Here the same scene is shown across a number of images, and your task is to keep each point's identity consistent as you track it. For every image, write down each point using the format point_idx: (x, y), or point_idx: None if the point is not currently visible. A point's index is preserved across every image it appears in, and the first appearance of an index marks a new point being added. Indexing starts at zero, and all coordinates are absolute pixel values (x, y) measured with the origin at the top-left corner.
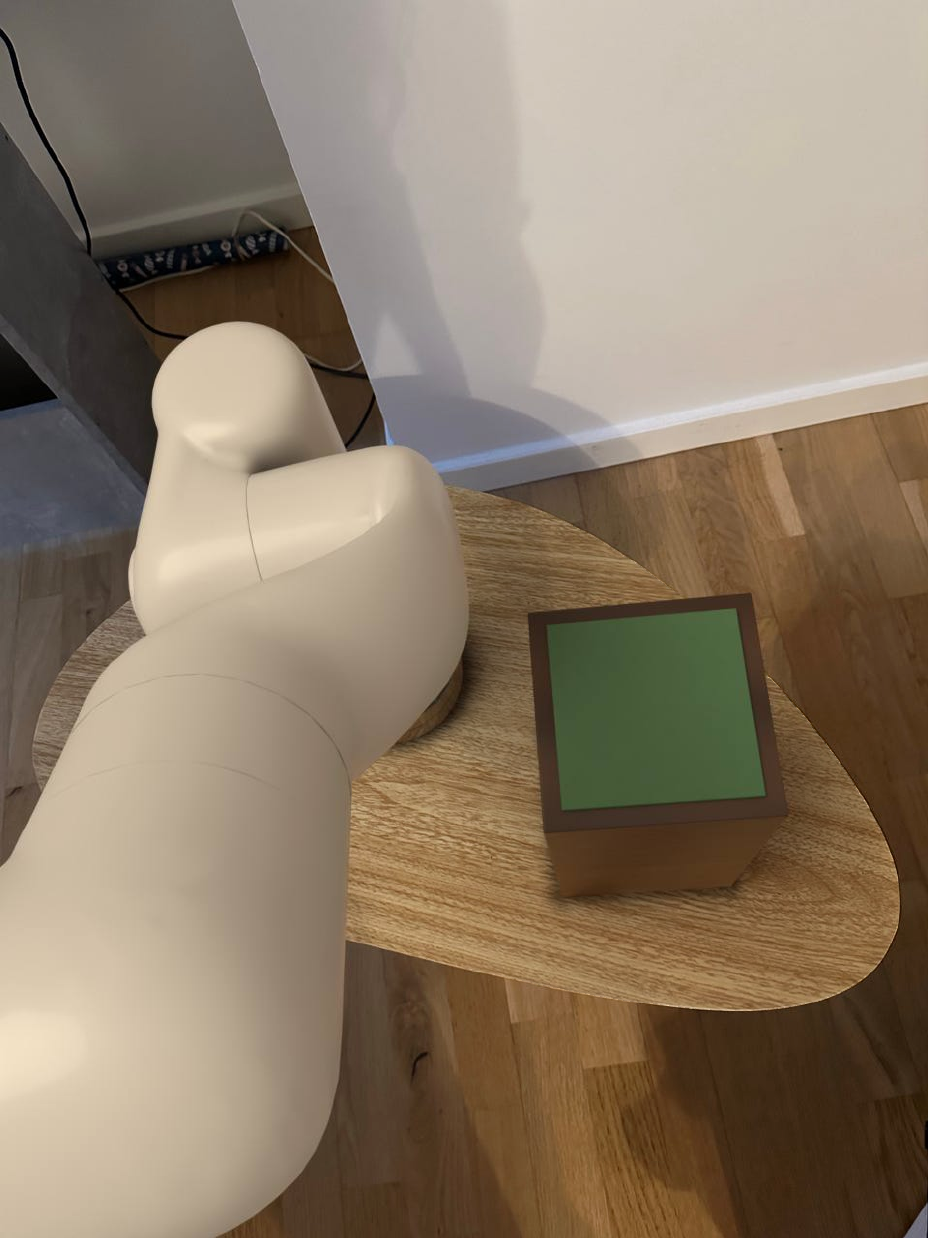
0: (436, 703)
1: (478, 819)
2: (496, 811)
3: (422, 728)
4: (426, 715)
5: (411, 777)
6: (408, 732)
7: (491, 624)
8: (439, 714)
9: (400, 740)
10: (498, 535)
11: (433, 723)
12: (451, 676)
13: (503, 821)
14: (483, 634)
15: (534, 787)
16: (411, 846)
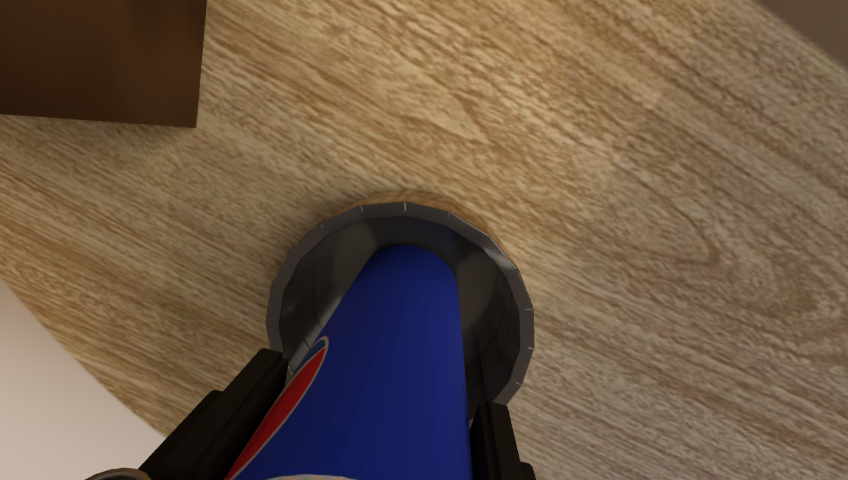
0: (321, 221)
1: (331, 25)
2: (300, 30)
3: (375, 195)
4: (350, 207)
5: (420, 130)
6: (398, 195)
7: (251, 322)
8: (341, 209)
9: (419, 191)
10: None
11: (359, 201)
12: (283, 261)
13: (292, 9)
14: (265, 312)
15: (233, 52)
16: (449, 12)
